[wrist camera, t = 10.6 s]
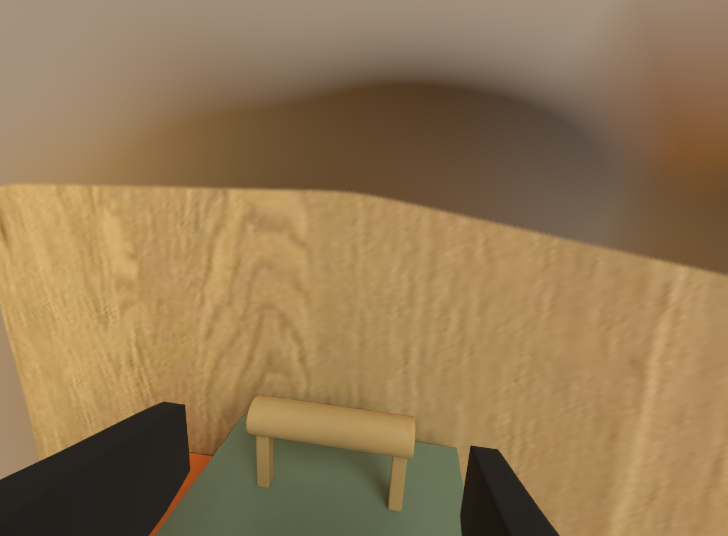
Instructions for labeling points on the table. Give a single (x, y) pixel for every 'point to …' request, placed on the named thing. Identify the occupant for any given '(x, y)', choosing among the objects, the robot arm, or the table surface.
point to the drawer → (322, 477)
